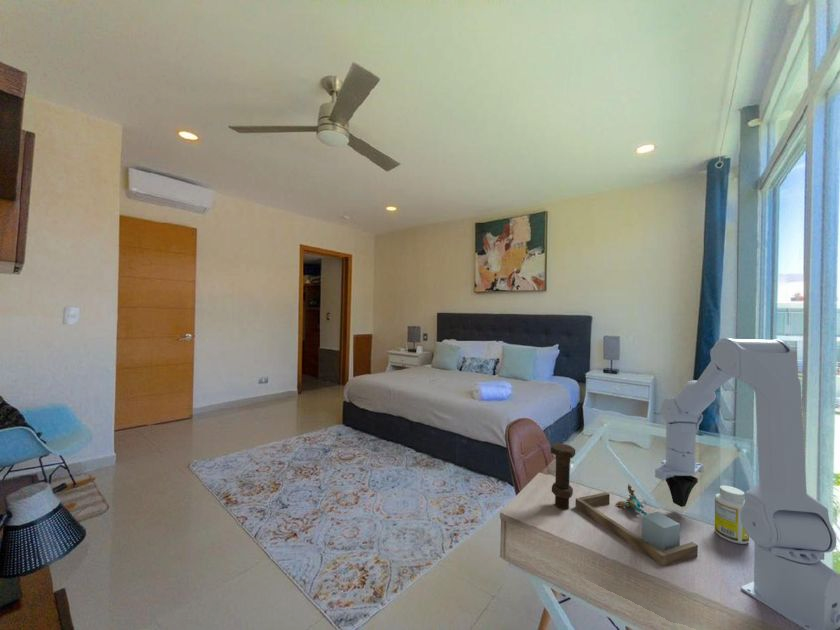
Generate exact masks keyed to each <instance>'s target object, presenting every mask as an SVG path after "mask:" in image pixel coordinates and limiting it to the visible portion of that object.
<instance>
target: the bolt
mask: <svg viewBox="0 0 840 630" xmlns="http://www.w3.org/2000/svg"><path fill="white" fill-rule="evenodd" d="M550 453H551V454H553V455H555V481H554V482H553V483H552V485H551V492H552V493H553V495H554V505H555V507H556V508H558V509H560V510H563V511H567V510H569V509H570V498H572V496H573V493H574V488H573V487H572V486H571V485H570V478H571V477H570V471H571V459H573V458H574V457H575V456H576V449H575V448H574V447H573V446H571V445H569V444H566V443H553V444H552V445H551V447H550Z"/></svg>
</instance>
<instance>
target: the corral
mask: <svg viewBox="0 0 840 630" xmlns="http://www.w3.org/2000/svg"><path fill="white" fill-rule="evenodd" d="M607 505H610V493H608V492H607V491H606V492H605V491H604V492H601V493H595V494H592V495H590V494H589V495H586V496H582V497H575V508H576V509H577V510H579V511H580V512H582V513H583V514H585V515H586V516H588V517H589V518H590V519H592V520H593V521H595V522H597V524H599V525H601V526H602V525H603V526H602V527H604V528H606V529H607V530H608V531H610V532H612V533H613V534H614V535H616V536H617V537H619V538H620V539H622V540H623V541H624V542H626V543H628V544H629V545H631V546H632V547H633V548H635V549H637V550H638V551H640V552H641V553H643V554H644V555H646V556H647V557H649V558H650V559H652V560H653V561H654V562H656V563H657V564H659V565H660V566H662V567H664V566H667V565H668V566H669V565H671V564H675V563H677V562H682V561H686V560H689V559H690V560H691V559H693V558H698V555H699V553H698V551H699V550H698V549H699V547H698V544H697V543H695V542H693V541H690V542H686V543H684V544H680V546H677V547H674V548H671V549H667V550H664V551H659V550H658V549H656V548H655V547H653V546H652V545H650V544H649V543H647V542H646V541H644V540H642V537H640V536H638V535H636V534H635V533H634V532H632V531H630V530H629V529H627V528H626V527H624V526H623V525H621V523H618V522H617V521H615V520H613V519H612V518H610V517H609V516H607V515H606V514H604V513H603V512H601V511H600V510H598V509H596V508H595V507H600V506H601V507H603V506H607Z"/></svg>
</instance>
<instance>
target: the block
mask: <svg viewBox="0 0 840 630" xmlns="http://www.w3.org/2000/svg"><path fill="white" fill-rule="evenodd" d="M641 520H642V521H641V523H642V524H641V539H642V540H644V541H646V542H647V543H649V544H650V545H652V546H653V547H655V548H656V549H658V550H659V551H664V550H667V549H671V548H674V547H677V546H680V545H681V543H680V542H681V541H680V540H681V539H680V537H681V523H679V522H677V521H675V520H674V519H672V518H670V517H668V516H666V515H665V514H663V513H661V512H659V511H655V512H650V513H647V514H646V515H645V514H642V519H641Z"/></svg>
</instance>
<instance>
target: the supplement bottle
mask: <svg viewBox="0 0 840 630" xmlns="http://www.w3.org/2000/svg"><path fill="white" fill-rule="evenodd" d="M718 491H719V493H716V494H715V495H714V531H715V533H716V534H717V535H718V536H719V537H721V538H722V539H724V540H725V541H729V542H731V543H735V544H738V545H744V544H746V545H747V544H748V543H749V542H750V536H749V535H748V534H747V532H746V531H745V529H744V527H743V525H742V522H741V510H742V507H743V505H744V502H745V492H744V491H743V490H741V489H740V488H736V487H735V486H732V485H731V486H730V485H720V486H719V490H718Z"/></svg>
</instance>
